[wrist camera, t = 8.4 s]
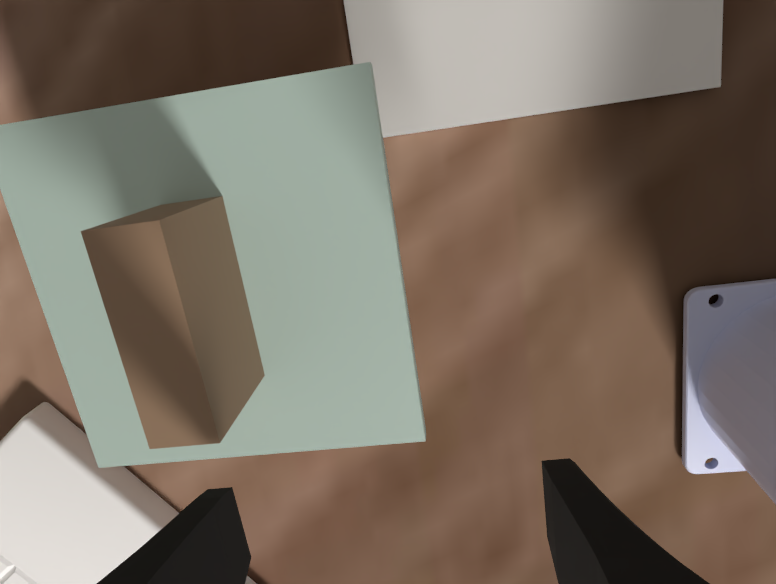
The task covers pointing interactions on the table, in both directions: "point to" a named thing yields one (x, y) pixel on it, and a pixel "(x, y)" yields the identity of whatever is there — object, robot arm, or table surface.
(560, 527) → the robot arm
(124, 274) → the lid
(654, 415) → the table surface
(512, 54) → the mat
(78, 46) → the table surface
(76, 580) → the laptop
